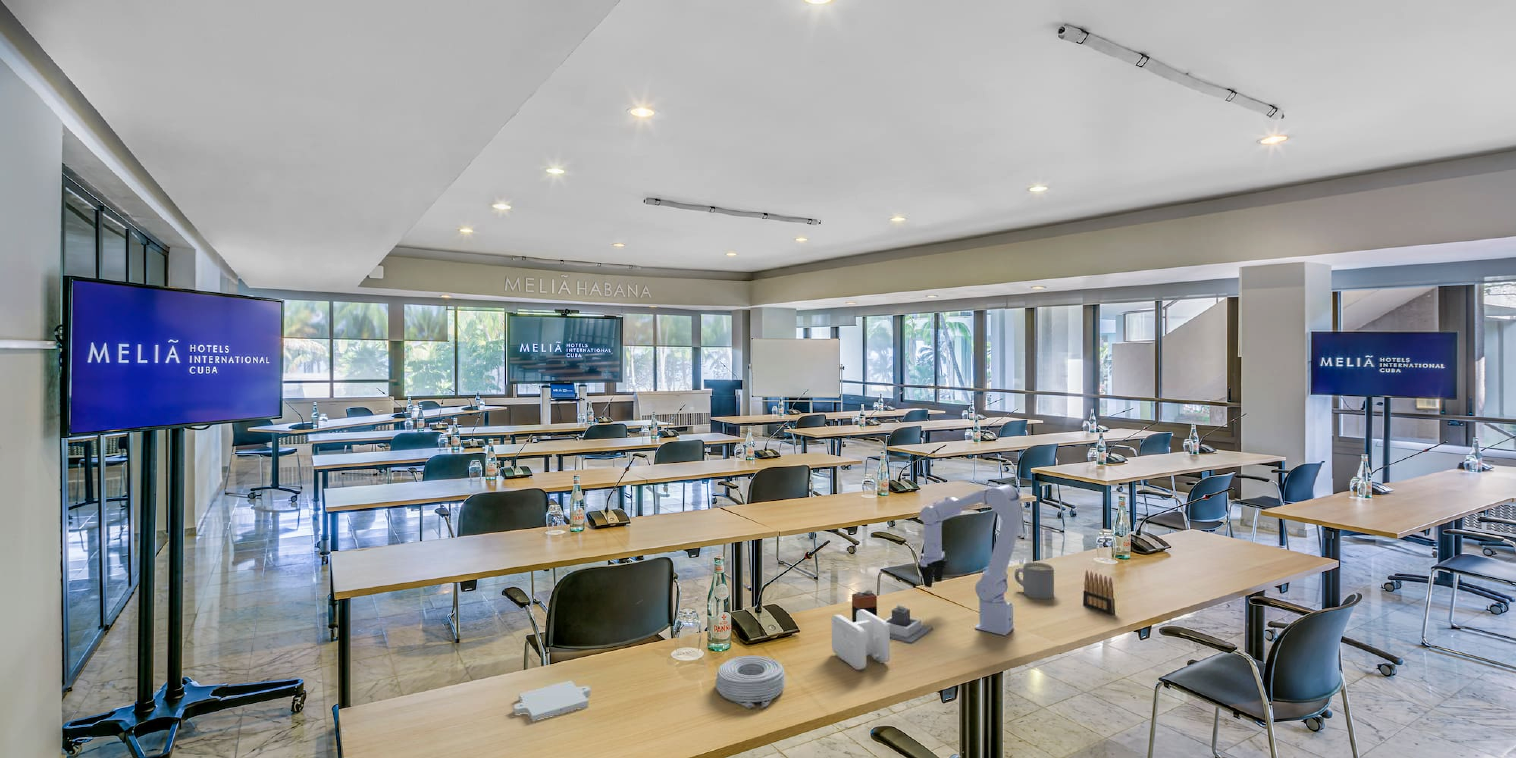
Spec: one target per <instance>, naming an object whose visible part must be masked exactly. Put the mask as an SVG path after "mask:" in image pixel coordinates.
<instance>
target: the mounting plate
mask: <svg viewBox="0 0 1516 758" xmlns="http://www.w3.org/2000/svg"><path fill="white" fill-rule="evenodd" d="M591 691H592V690H591V687H590V686H589V685H583V686H577V685H576V683H574V682H573V680H572V679H571V680H568V681H563V682H560V683H559V682H558V683H555V684H551V685H547V686H544V687H539V688H536V689H532V690H528V691H524V692H519V693H518V700H519V699H520V701H521V703H520V701H519V702H517V703H515V704H514V705H513V713H514V712H515V714H520V713H524V712H525V713H528V714H529V716H530V717H529V716H528V717H529V719H530V718H531V719H532V720H531V719H530V720H531V722H532V721H536V720H538V719H541V718H546V717H550V716H553V715H558V714H561V715H563V714H562V713H564V712H568V713H570V712H569V711H572V710H575V709H578V708H583V709H585V707H586V708H589V699H588V698H589V697H591V693H592V692H591ZM588 696H589V697H588ZM572 712H573V711H572ZM515 714H514V715H515ZM558 716H559V715H558ZM550 718H551V717H550ZM536 722H537V721H536Z"/></svg>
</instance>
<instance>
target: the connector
mask: <svg viewBox="0 0 1516 758" xmlns="http://www.w3.org/2000/svg"><path fill="white" fill-rule="evenodd" d="M891 616H892V624H895V625H899V626H903V627H907V626H909V625H910V618H911V609H910V608H905V606H904V605H900V604H898V605H896V607H895V608H893V609H891Z"/></svg>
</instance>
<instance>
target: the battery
mask: <svg viewBox="0 0 1516 758" xmlns="http://www.w3.org/2000/svg"><path fill="white" fill-rule="evenodd" d="M877 599H878V597H877V595H876V594H875V593H873V590H869V589H867V590H865V591H864V592H862V591H857V592H856V593H853V594H851V617H852V619H851V621H852V622H856V612H857V611H858V610H861V609H864V610H866V611H868V612H870V613H872V614H874V615H875V616H877V617H878V604H877V603H878V600H877Z"/></svg>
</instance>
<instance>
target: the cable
mask: <svg viewBox="0 0 1516 758" xmlns="http://www.w3.org/2000/svg"><path fill="white" fill-rule="evenodd" d="M714 685H715V688H716V690H717V691H718V692H719V694H720V695H721V696H722V697H723V698H725V699H727V700H728V701H732V702H735V703H736V704H739V705H741V706H743V707H744V708H748V709H749V710H751V709H752V708H755V707H756V704H754V703H761V706H760V708H759V709H761V710H762V709H764V708H766V707H768V706H769V704H770V703H771V702H772V700H774V698H777V697H778V696H780V694H781V693H782V691H783V690H784V688H785V686H786V671H785V668H784V666H783V665H782V664H781V663H780V662H779V661H778V660H775V659H773V658H770V657H766V656H762V655H742V656H737V657H732V658H730V659H728V660H726V661H725V662H723V663H722V664H721V665H720V666H719V668H718V670H717V673H716V679H715V684H714Z"/></svg>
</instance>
